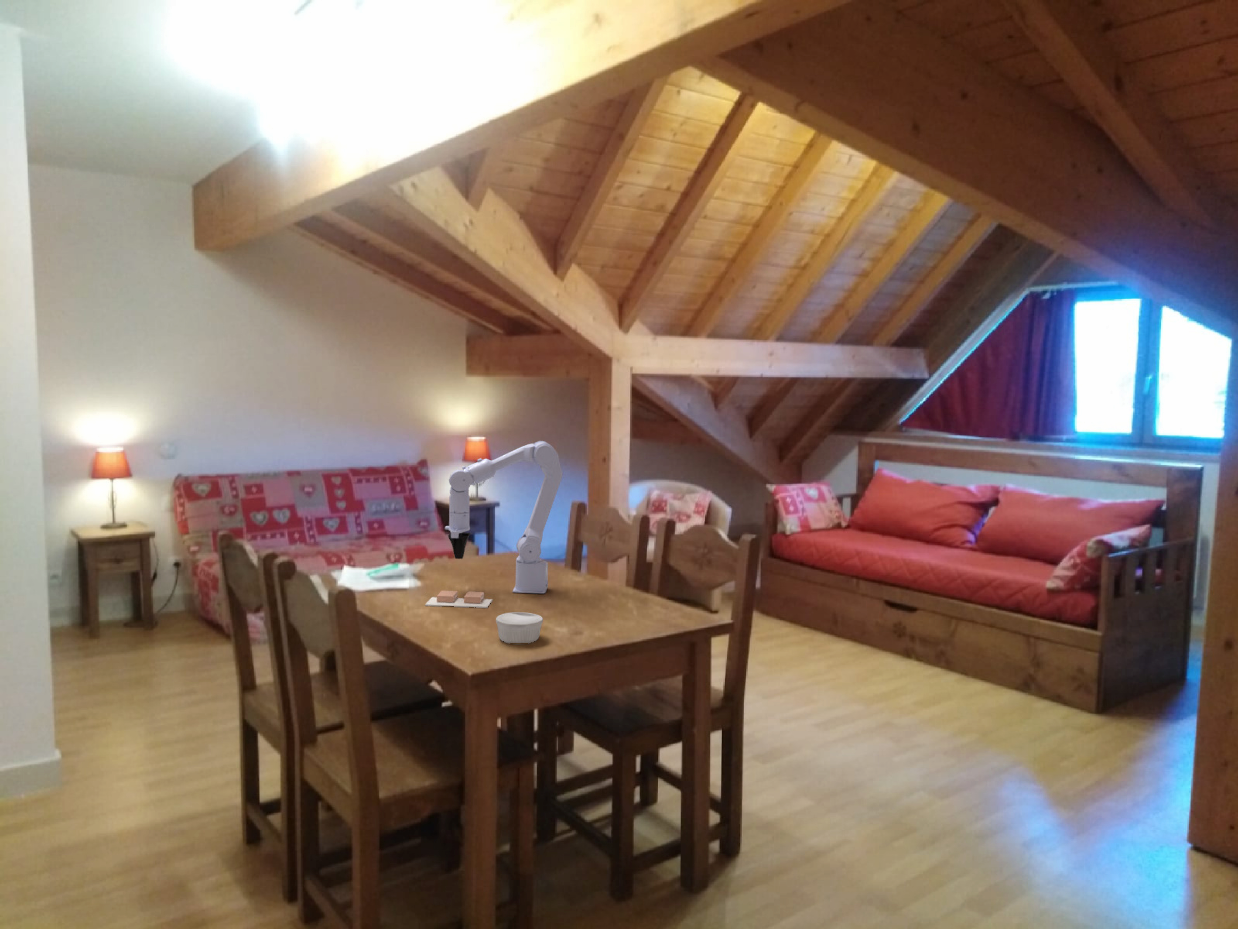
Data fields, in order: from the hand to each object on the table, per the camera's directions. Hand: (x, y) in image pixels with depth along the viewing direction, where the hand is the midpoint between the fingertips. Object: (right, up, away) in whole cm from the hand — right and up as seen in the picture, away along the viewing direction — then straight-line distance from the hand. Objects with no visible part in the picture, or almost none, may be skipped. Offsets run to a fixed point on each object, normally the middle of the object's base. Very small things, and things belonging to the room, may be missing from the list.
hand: (459, 558), depth 257 cm
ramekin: (+22, -15, -43) cm, 50 cm away
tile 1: (-1, -9, -7) cm, 12 cm away
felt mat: (+2, -11, -12) cm, 16 cm away
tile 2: (+6, -9, -7) cm, 13 cm away
